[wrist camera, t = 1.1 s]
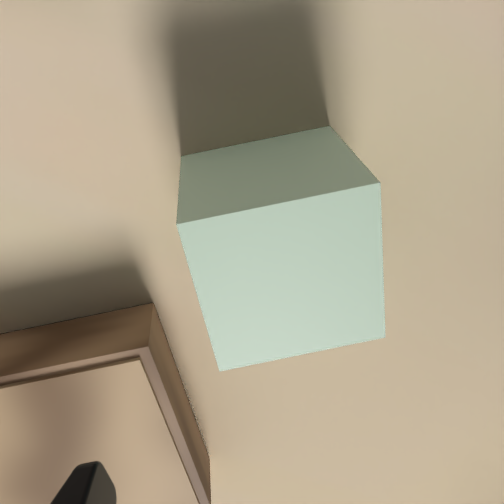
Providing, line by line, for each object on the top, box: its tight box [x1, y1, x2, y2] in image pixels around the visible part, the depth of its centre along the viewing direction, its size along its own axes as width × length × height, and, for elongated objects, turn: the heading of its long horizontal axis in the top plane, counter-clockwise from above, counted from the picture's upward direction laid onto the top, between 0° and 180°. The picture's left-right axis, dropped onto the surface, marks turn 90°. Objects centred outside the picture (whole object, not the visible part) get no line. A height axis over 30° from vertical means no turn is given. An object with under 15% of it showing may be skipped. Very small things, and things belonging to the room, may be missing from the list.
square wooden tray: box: [0, 303, 211, 504], centre depth 20 cm, size 10×10×3 cm
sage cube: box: [176, 126, 385, 371], centre depth 15 cm, size 5×5×5 cm
